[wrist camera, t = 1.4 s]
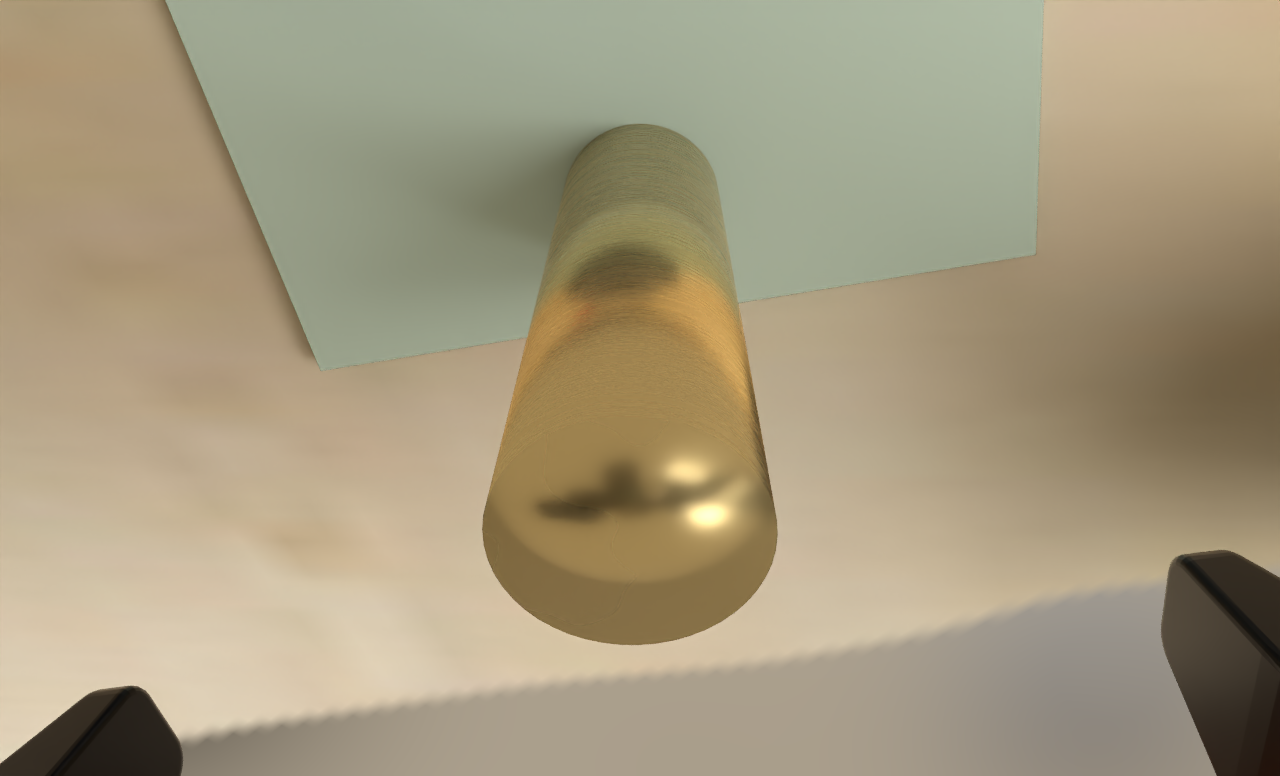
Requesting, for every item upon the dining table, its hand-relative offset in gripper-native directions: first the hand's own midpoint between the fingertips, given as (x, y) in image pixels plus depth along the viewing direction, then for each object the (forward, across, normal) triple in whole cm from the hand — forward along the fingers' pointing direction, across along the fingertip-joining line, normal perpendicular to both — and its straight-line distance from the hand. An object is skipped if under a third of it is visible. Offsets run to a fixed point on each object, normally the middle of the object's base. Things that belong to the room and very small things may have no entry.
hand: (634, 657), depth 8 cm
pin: (+12, 0, 0) cm, 12 cm away
